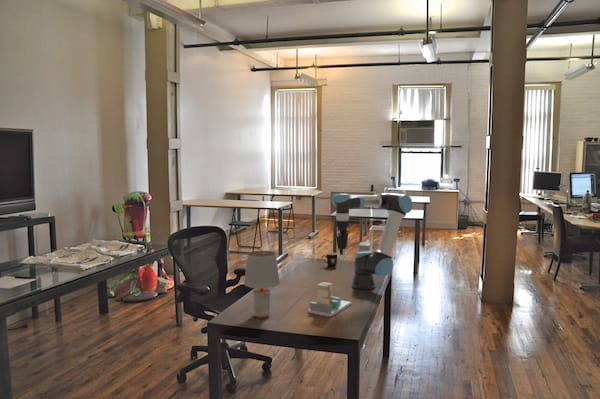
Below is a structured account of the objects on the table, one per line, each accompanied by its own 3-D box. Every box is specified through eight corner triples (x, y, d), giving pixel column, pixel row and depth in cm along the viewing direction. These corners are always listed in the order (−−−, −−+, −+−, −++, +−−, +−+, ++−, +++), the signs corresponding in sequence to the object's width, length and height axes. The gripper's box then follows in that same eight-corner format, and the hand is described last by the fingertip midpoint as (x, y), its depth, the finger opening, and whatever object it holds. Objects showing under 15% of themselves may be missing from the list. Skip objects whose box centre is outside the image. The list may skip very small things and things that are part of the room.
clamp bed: (329, 300, 287) (329, 291, 286) (351, 304, 280) (351, 295, 279) (308, 312, 266) (308, 302, 265) (330, 317, 258) (330, 306, 258)
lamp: (266, 324, 246) (265, 259, 243) (237, 318, 256) (236, 254, 253) (286, 314, 262) (286, 252, 259) (258, 308, 272) (258, 248, 269)
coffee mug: (338, 265, 375) (339, 253, 374) (336, 268, 367) (336, 255, 366) (324, 264, 379) (324, 252, 378) (321, 267, 371) (321, 254, 370)
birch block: (322, 306, 271) (322, 282, 270) (331, 308, 268) (332, 283, 267) (317, 309, 266) (317, 284, 265) (326, 311, 263) (326, 286, 261)
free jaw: (325, 301, 280) (325, 294, 279) (343, 305, 274) (343, 298, 273) (317, 305, 273) (317, 298, 272) (336, 309, 266) (336, 302, 266)
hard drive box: (368, 272, 354) (369, 245, 352) (358, 272, 355) (358, 245, 353) (369, 267, 369) (370, 241, 367) (359, 267, 370) (360, 241, 368)
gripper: (341, 218, 291) (341, 257, 293) (331, 220, 280) (331, 261, 282) (353, 219, 287) (352, 258, 289) (343, 221, 276) (342, 262, 278)
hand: (342, 259), depth 286 cm, fingers closed
